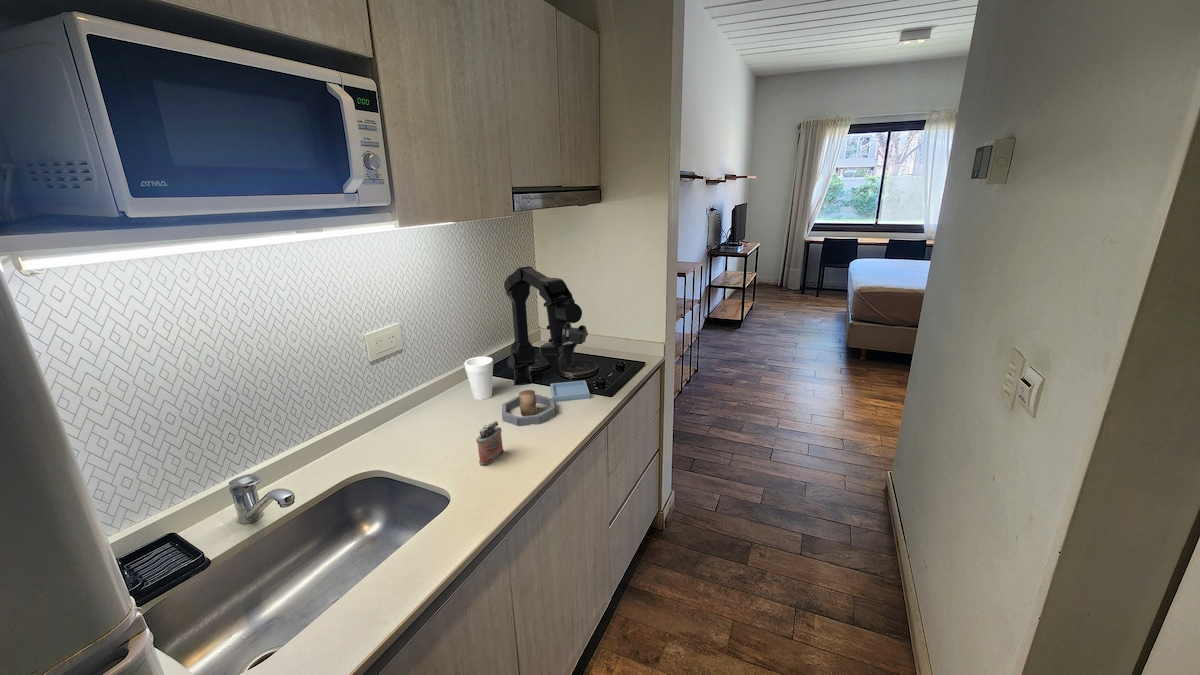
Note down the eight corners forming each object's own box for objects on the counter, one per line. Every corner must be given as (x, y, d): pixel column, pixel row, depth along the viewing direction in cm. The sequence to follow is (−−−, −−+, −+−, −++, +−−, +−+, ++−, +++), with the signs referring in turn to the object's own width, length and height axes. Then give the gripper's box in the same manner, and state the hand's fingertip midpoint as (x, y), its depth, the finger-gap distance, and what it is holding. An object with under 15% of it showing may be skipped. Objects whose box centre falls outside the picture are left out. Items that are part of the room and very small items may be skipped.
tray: (550, 388, 174) (550, 383, 173) (585, 384, 176) (585, 380, 175) (552, 402, 163) (552, 397, 163) (590, 398, 165) (589, 393, 164)
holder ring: (503, 404, 163) (502, 397, 162) (552, 399, 165) (552, 392, 164) (502, 427, 147) (501, 420, 146) (556, 421, 150) (555, 414, 149)
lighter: (485, 467, 127) (481, 433, 124) (476, 464, 129) (472, 430, 126) (506, 453, 133) (503, 420, 130) (497, 449, 135) (494, 417, 132)
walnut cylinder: (520, 410, 158) (518, 390, 156) (536, 408, 159) (534, 389, 157) (521, 417, 153) (519, 397, 151) (536, 415, 154) (535, 395, 152)
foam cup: (499, 390, 174) (496, 356, 170) (492, 402, 165) (487, 366, 161) (474, 390, 175) (469, 356, 171) (464, 401, 166) (460, 366, 162)
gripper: (570, 325, 138) (577, 378, 141) (592, 313, 155) (598, 361, 158) (535, 327, 142) (542, 378, 145) (560, 316, 159) (566, 362, 162)
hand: (564, 369), depth 152 cm, fingers open, 9 cm apart
